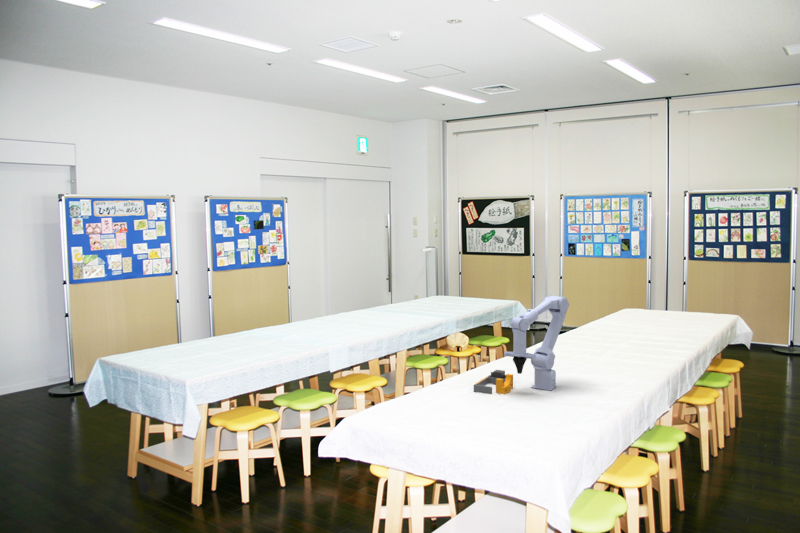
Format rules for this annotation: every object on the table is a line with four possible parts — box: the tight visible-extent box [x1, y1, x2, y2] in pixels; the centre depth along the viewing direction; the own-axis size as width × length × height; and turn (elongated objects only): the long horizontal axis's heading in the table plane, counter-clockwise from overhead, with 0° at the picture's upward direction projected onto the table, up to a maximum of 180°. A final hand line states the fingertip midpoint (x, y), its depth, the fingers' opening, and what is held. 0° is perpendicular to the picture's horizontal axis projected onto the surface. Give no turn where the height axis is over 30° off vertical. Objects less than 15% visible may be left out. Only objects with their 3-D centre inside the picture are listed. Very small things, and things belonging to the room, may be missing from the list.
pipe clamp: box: [495, 373, 514, 395], centre depth 273 cm, size 12×4×6 cm, turn 142°
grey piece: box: [473, 369, 506, 395], centre depth 279 cm, size 10×24×6 cm, turn 149°
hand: (519, 373), depth 269 cm, fingers closed
